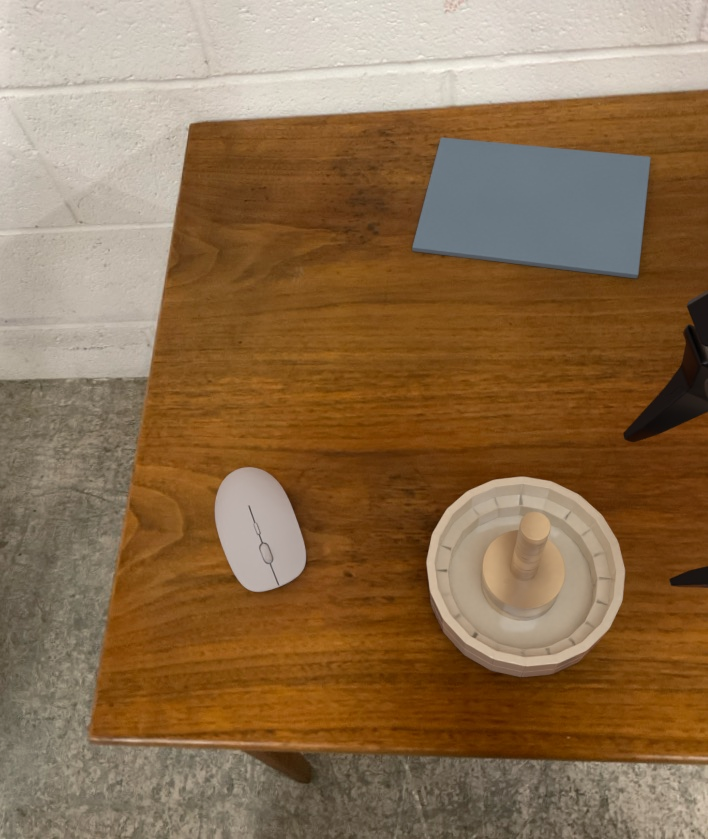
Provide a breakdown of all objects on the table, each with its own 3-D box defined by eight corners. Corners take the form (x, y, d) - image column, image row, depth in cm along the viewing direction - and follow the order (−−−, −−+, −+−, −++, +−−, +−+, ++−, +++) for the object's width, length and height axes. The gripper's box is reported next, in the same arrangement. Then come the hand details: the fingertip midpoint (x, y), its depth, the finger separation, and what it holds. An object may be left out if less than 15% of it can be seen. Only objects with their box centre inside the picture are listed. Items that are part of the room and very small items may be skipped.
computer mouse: (244, 604, 60) (235, 594, 57) (208, 492, 65) (198, 477, 62) (318, 574, 61) (312, 562, 58) (277, 465, 65) (270, 449, 63)
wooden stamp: (563, 553, 59) (588, 491, 48) (553, 628, 56) (578, 580, 46) (487, 538, 60) (495, 474, 49) (474, 611, 58) (480, 561, 47)
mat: (649, 161, 76) (650, 156, 75) (637, 279, 70) (638, 274, 69) (440, 141, 80) (440, 137, 79) (412, 251, 74) (412, 247, 73)
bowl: (620, 517, 60) (632, 495, 56) (602, 697, 55) (614, 686, 51) (446, 486, 63) (446, 462, 59) (412, 654, 57) (409, 640, 53)
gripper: (787, 168, 37) (526, 338, 47) (988, 558, 28) (613, 664, 38) (879, 252, 43) (633, 385, 53) (1064, 587, 35) (728, 671, 45)
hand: (649, 507), depth 47 cm, fingers open, 9 cm apart
